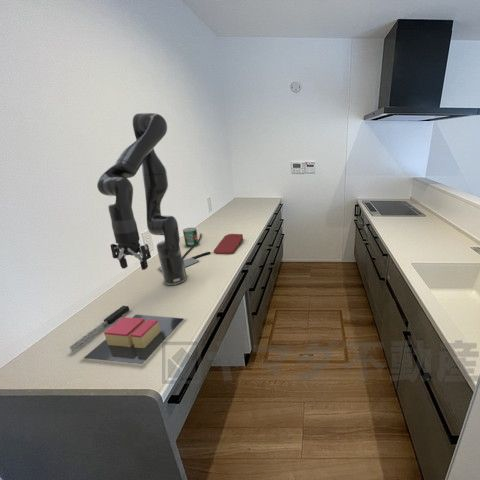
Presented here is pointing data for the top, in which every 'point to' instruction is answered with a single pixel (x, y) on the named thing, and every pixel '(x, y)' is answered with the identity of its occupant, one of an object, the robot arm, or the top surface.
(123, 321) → the cake
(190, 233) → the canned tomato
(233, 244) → the red slab
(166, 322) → the slate board
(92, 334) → the knife
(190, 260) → the cleaver
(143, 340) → the cake slice
